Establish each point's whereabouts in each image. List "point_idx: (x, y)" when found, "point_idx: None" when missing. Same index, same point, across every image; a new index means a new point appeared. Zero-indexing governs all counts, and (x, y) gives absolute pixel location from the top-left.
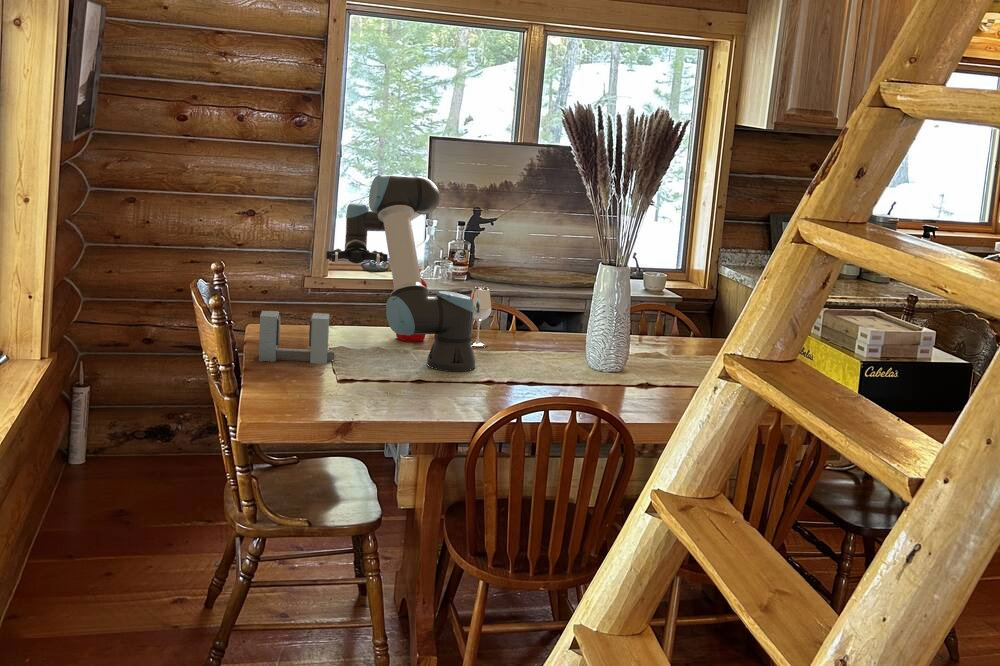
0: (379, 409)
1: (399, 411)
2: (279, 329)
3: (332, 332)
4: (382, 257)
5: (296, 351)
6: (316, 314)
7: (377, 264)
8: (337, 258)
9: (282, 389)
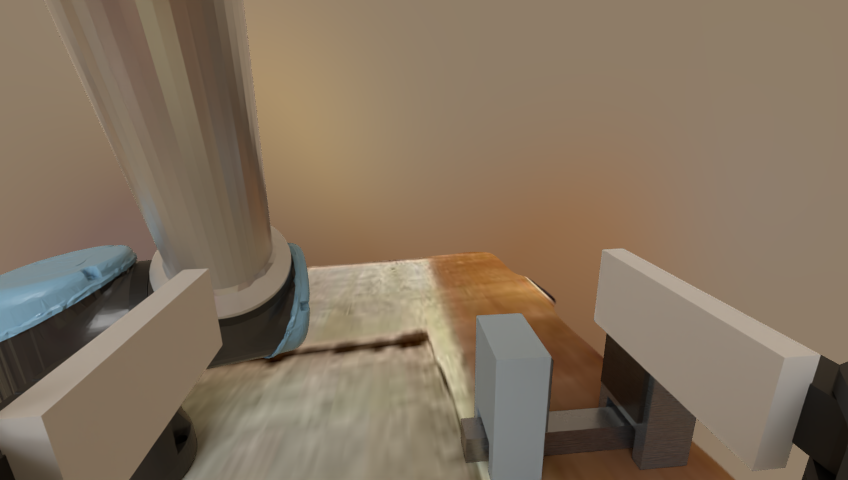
0: (367, 278)
1: (345, 277)
2: (623, 369)
3: None
4: (64, 360)
5: (561, 411)
6: (530, 344)
7: (218, 344)
8: (599, 284)
9: (497, 303)
